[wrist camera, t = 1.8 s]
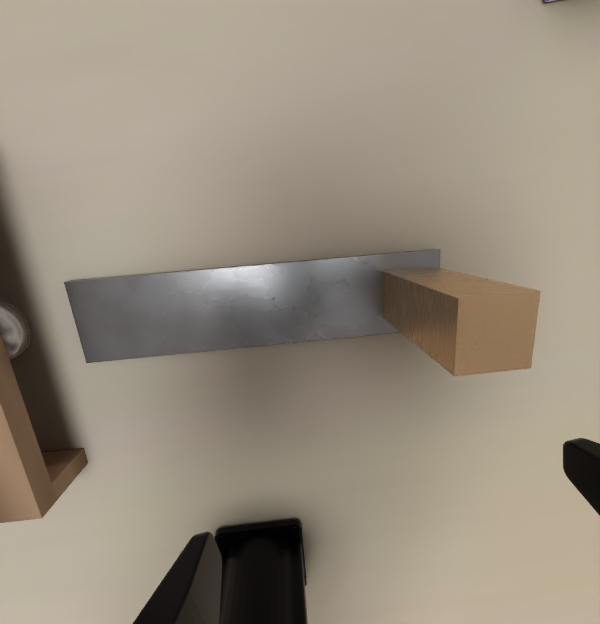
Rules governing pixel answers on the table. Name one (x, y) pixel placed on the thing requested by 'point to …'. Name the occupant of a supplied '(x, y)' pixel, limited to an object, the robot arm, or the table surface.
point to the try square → (310, 310)
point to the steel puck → (14, 329)
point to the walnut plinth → (28, 457)
